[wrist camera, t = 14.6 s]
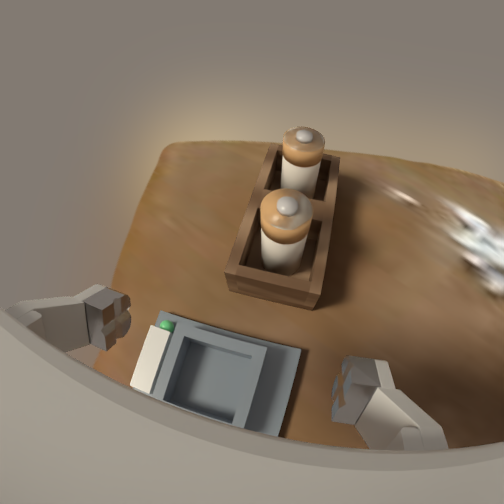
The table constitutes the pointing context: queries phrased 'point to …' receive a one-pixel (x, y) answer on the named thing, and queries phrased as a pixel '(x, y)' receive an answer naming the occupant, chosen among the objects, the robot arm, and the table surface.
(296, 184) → the cell
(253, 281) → the rack
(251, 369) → the checker
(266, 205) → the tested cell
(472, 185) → the table surface
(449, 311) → the table surface
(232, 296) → the table surface
